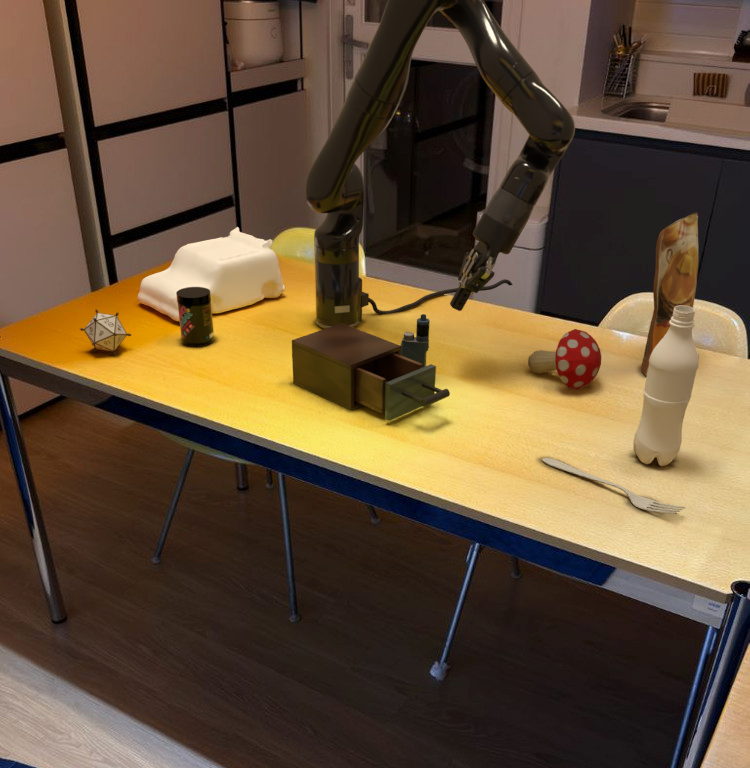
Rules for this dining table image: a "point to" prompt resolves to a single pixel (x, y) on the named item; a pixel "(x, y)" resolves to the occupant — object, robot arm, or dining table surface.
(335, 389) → the cabinet
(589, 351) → the decorative mushroom
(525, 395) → the dining table surface
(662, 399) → the water bottle
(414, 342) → the vaping device
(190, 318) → the supplement container
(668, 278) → the pancake mix bag
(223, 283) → the white toy car
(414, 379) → the drawer
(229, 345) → the dining table surface
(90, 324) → the game die
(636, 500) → the fork
